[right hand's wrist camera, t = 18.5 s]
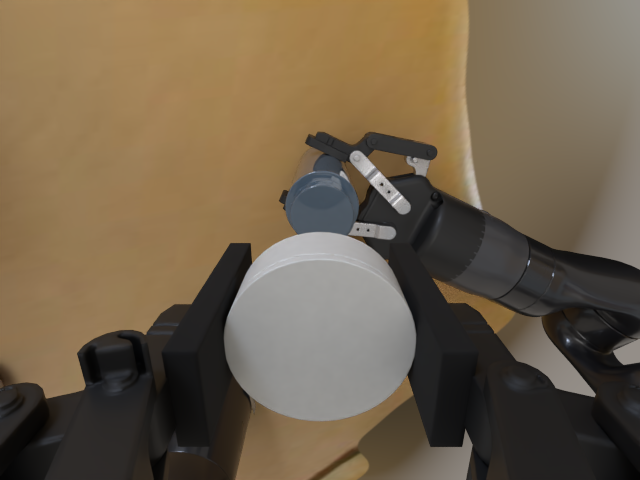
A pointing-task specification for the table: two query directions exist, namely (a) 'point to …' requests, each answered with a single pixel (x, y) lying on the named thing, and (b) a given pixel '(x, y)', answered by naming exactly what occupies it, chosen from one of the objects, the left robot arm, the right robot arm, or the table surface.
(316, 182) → the bottle
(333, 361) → the white cylinder
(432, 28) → the table surface
